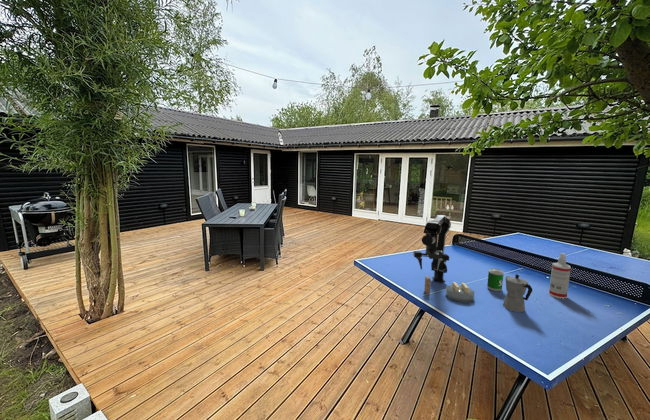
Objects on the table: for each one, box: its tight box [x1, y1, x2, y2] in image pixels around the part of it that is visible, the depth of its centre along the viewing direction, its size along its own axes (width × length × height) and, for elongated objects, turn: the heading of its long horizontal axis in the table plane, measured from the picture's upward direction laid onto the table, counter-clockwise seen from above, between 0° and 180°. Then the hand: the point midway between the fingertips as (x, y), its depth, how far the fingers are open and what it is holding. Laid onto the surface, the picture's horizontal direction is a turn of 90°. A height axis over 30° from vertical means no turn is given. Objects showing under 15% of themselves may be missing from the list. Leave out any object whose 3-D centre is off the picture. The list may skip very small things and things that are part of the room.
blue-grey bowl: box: [445, 281, 475, 303], centre depth 145 cm, size 14×14×7 cm
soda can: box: [486, 268, 505, 292], centre depth 154 cm, size 8×8×12 cm
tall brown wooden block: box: [424, 275, 431, 295], centre depth 150 cm, size 5×2×9 cm, turn 169°
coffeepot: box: [502, 274, 533, 313], centre depth 131 cm, size 15×9×18 cm, turn 6°
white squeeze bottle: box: [548, 252, 572, 300], centre depth 145 cm, size 8×8×25 cm
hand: (429, 270), depth 148 cm, fingers open, 9 cm apart
